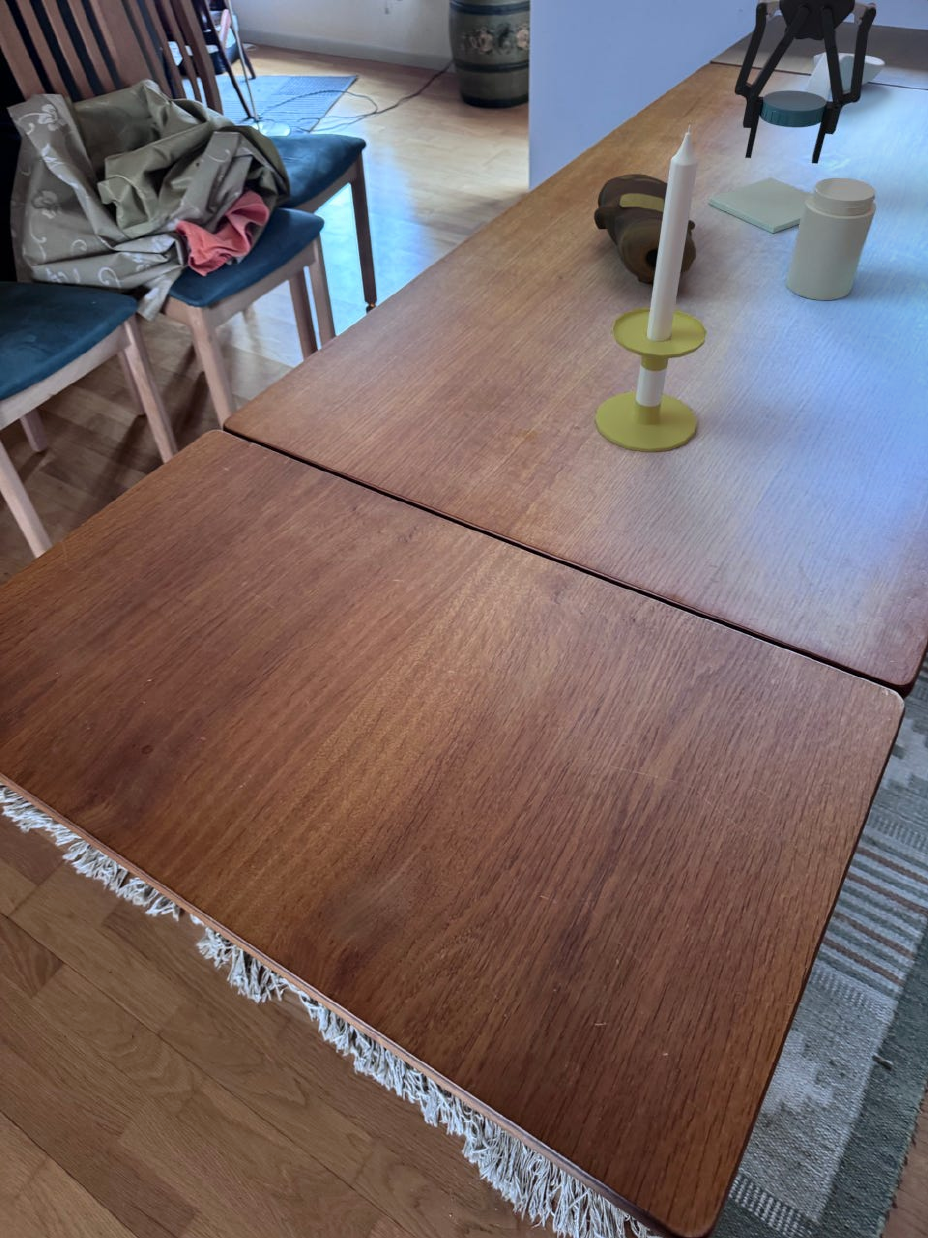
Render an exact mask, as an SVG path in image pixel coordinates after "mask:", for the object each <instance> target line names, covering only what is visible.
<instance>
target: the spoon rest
mask: <svg viewBox="0 0 928 1238" xmlns="http://www.w3.org/2000/svg"><path fill="white" fill-rule="evenodd" d="M838 54H839V62H840V69H841V77H842V85H843V91H844V90H847V89H850V86H851V78H852V69H853V61H854V53H842V52H841V53H840V52H838ZM885 65H886V63H885V61H884V60H883V59H881V58H879V57H875V56H870V55H866V56H865V64H864V72H863V80H862V86H864V85H866V84H868V83H869V82H871V81H873V80H874V79H875V78H876V77H877V76H878V75H879V74H880V73H881V71H882V70H883V69H884V67H885ZM813 66H814V70H813V71H812V73H811V75H810V76H809V79H808V81H807V84H806V85H805V87H804V90H803V91H804V92H809V93H813V94H816V95H819V96H821V97H823V98H824V99H825V100H826V101H830V95H831V85H830V78H829V70H828V63H827V56H826V51H825V52H822V53H820V54H816V55H814V56H813Z"/></svg>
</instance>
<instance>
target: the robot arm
mask: <svg viewBox="0 0 928 1238" xmlns="http://www.w3.org/2000/svg"><path fill="white" fill-rule="evenodd" d="M777 11H780V14H781V16H782V18H783V20H784V23H785V28H784V30H783V31H782V33H781V35H780V37H779V39H778V41H777V42H776V44H775V45H774V47H773V49H772V50H771V52H770V54H769V55H768V57H767V59H766V61H765V63H764V64H763V66H762V68H761V69H760V71H759V73H758V74H757V76H756V78H755V79H754V81H753V82H752V83H749V82H748V81H749V77H750V75H751V71H752V69H753V66H754V63H755V60H756V57H757V54H758V51H759V49H760V45H761V43H762V39H763V36H764V34H765V30H766V25H767V23H769V22H772V20H773V18H774V16H775V13H776V12H777ZM851 14H853V16H854V18H853V24H854V25H855V26H856V27H857V28H856V35H855V45H854V53H853V54H854V61H853V69H852V78H851V86H850V89H847V90H843V85H842V77H841V69H840V62H839V54H838V53H839V46H838V40H837V39H838V38H837V29H838V27H839V26H841V25H842V23H844V21H845V20H846V19H848V17H849V16H850V15H851ZM876 16H877V5H876V3H875V2H869V3H864V2H861V1H860V2H859V1H856V0H758V1H757V4H756V7H755V23H754V24H755V26H754V28H753V31H752V35H751V38H750V40H749V43H748V47H747V49H746V52H745V55H744V58H743V62H742V65H741V68H740V70H739V73H738V77H737V79H736V82H735V86H734V94H735V95H737V96H741V97H743V98H745V100H746V105H745V108H744V115H743V120H742V128H744V129H750V132H749V136H748V141H747V146H746V152H745V156H744V158H745V159H752V155H753V150H754V147H755V146H754V145H755V140H756V135H757V130H758V126H759V121H760V112H761V107H762V102H763V97H764V96H761V94H762V91H763V90H764V88H765V86H766V85H767V83H768V81H769V79H770V78H771V77H772V75H773V73H774V72H775V70H776V68H777V67H778V65H779V64H780V61H781V60H782V58H783V57H784V55H785V53H786V52H787V50H788V49H789V47H790V46H791V44H792V43H793V41H794V39H795V40H801V41H802V40H806V39H811V40H813V41H821V42H822V41H823V42H824V49H825V52H826V56H827V63H828V70H829V78H830V85H831V89H830V94H831V99H832V100H829V101H826V102H827V104H826V107H825V111H824V115H823V119H822V121H821V122H820V123H819V128H818V132H817V136H816V140H815V144H814V147H813V152H812V155H811V164H815V165H818V164H819V160H820V156H821V153H822V149H823V145H824V141H825V137H826V135H834V134H835V132H836V130H837V127H838V123H839V119H840V116H841V112H842V109H843V107H844V106H845V105H848V104H851V103H852V104H856V103H859V101H860V99H861V96H862V89H863V88H862V86H863V85H862V80H863V72H864V64H865V56H867V47H868V41H869V40H868V39H869V32H870V30H871V27H872V25H873V23H874V21H875V19H876Z"/></svg>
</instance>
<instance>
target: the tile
mask: <svg viewBox="0 0 928 1238" xmlns="http://www.w3.org/2000/svg"><path fill="white" fill-rule="evenodd" d="M811 194H812V193H809V192H808V191H805V190H802V189H800V188H798V187H795V186H794V185H793V186H792V185H790V184H787V183H785V182H783V181H781V180H778V179H776V178H773V177H771V176H770V177H768V178H764V179H761V180H758V181H755V182H752V183H750V184H746V185H744V186H740V187H737V188H735V189H730V190H728V191H725V192H722V193H719V194H716V195H713V196H710V197H709V198H708V203H707V204H708V205H711V206H713V207H715V208H717V209H719V210H721V211H723V212H725V211H726V212H725V213H728V214H730V215H732V216H734V217H736V218H738V219H741V220H743V221H745V222H748V223H749V224H750V225H753V226H756V227H758V228H760V229H762V230H764V231H766V232H769V233H771V234H776V233H778V232H781V231H784V230H787V229H789V228H792V227H795V226H797V225H798V226H799V224H800V220H801V216H802V212H803V208H804V204H805V200H806V198H807V197H808V196H810V195H811Z"/></svg>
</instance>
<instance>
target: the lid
mask: <svg viewBox="0 0 928 1238" xmlns="http://www.w3.org/2000/svg"><path fill="white" fill-rule="evenodd" d="M762 97H763V102H762V107H761V112H760V116H759V118H760V119H761V120H762V121H764V122H765V123H768V124H770V125H773V126H777V127H783V128H784V127H785V128H808V127H812V126H813V127H814V126H816V125H818V124H820V123H821V121H822V119H823V115H824V111H825V107H826V104H827V102H826V100H825V99H824V98H823V97H821V96H819V95H816V94H813V93H809V92H804V90H794V89H793V90H791V89H790V90H788V89H787V90H786V89H785V90H777V91H772V92H769V93H766V94H765V95H764V96H762Z"/></svg>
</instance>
